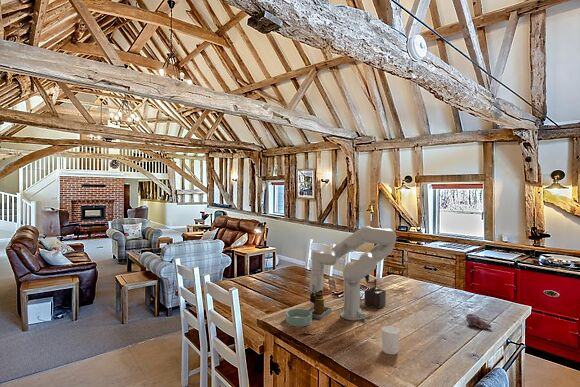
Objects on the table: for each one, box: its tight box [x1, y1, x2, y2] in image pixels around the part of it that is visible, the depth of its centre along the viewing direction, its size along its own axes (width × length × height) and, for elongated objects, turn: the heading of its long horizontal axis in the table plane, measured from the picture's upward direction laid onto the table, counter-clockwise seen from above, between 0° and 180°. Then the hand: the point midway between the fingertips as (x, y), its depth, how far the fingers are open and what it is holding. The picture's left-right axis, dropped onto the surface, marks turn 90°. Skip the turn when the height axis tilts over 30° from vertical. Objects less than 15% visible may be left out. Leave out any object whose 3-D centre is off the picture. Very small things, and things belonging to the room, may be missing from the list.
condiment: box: [311, 292, 325, 315], centre depth 193 cm, size 7×8×12 cm
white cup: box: [381, 325, 400, 355], centre depth 148 cm, size 8×8×10 cm
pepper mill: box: [363, 274, 387, 309], centre depth 210 cm, size 16×11×18 cm
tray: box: [306, 304, 332, 321], centre depth 193 cm, size 11×15×2 cm
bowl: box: [285, 307, 313, 327], centre depth 181 cm, size 14×14×4 cm
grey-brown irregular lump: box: [465, 313, 492, 330], centre depth 176 cm, size 12×8×6 cm, turn 39°
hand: (316, 300), depth 193 cm, fingers open, 9 cm apart
